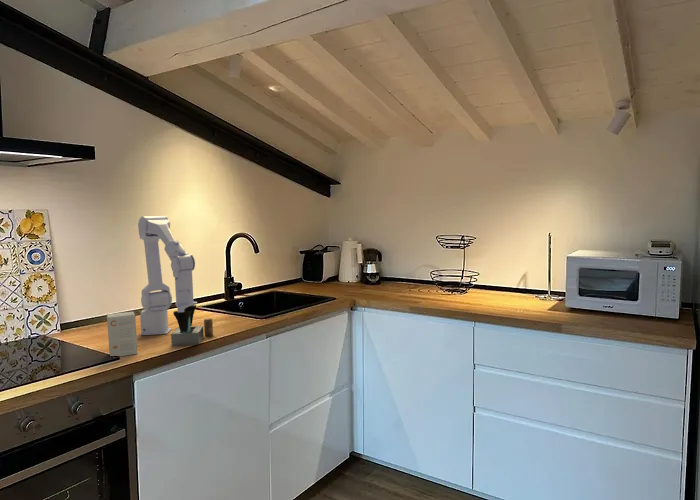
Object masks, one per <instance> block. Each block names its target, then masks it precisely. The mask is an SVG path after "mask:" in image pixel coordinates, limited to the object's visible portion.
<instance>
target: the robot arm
mask: <svg viewBox="0 0 700 500" xmlns="http://www.w3.org/2000/svg"><path fill="white" fill-rule="evenodd" d="M137 225H138V226H137V227H138V235H139V239H141V240H142V241H143V243H144V244H143V245H144V253H145V263H146V271H147V274H146V275H147V280H148V284H147V285H145V286H144V288H143V289H141V298H140V302H141V306H142V309H143V310H141V312H140V316H139V317H140V319H139V320H140V336H152V335H167V334H168V333H169V332H170V331H171V330H172V327H169V318H168V317H169V313H168V312H169V311H168V310H169V309H170V306H172V303H173V296H172V293H171V289H170V286H169V285H167V284H165V283H164V282H163V275H162V265H161V264H162V263H161V258H160V257H161V255H160V246H159V242H160V241H161V242H162V243H163V244H164V245H165V246H164V251H165V253H166V255H167V257H168V258H169V260H170V268H171V270H172V275H173V278H174V284H175V285H174V286H175V290H174V291H175V307H176V308H177V309H176V310H173V316H174V317H175V319H176V322H177V325H178V327H179V328H180V331H181V332H187V330H188V321H189V317H190V326H191V327H193V326H192V325H193V319H194V314H195V311H196V308H197V304H198V301H194V285H193V284H194V283H193V271H194V270H195V267H196V261H195V260H196V259H195V257H194V256H193V254H192V253H189V252H187V251H186V250H185V249H184V247H183V246H182V244H181V242H180V241H179V240H176V239H175V238H174V236H173V234H172V231H171V230H170V229H171V221H170V218H169V217H168V216H167V215H157V216H156V215H154V216H149V215H148V216H145V215H142V216H140V218H139V219H138V222H137Z"/></svg>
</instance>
